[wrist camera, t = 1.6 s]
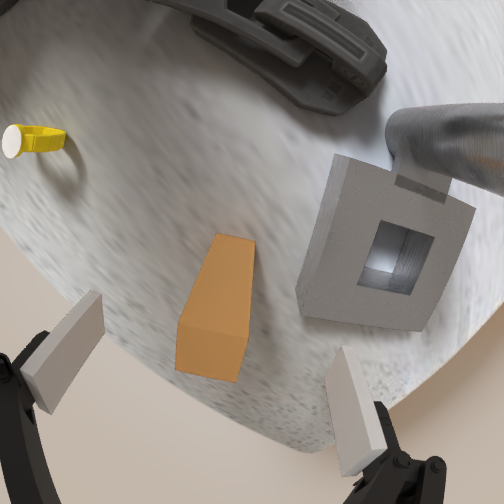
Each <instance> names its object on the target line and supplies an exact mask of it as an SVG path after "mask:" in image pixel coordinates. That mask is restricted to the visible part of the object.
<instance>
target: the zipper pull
mask: <svg viewBox="0 0 504 504" xmlns="http://www.w3.org/2000/svg"><path fill="white" fill-rule="evenodd" d="M147 1H151V2H155V3H158V4H162V5H165V6H169V7H172V8H175V9H178V10H182V11H185V12H188V13H190V14H191V21H190V26H191V27H192V28H193V30H194V31H195V33H196V34H197V35H199V36H200V37H202V38H203V39H205V40H207V41H208V42H210V43H211V44H213V45H215V46H216V47H218V48H219V49H221V50H223V51H224V52H226V53H227V54H229V55H230V56H232V57H233V58H235V59H236V60H238V61H239V62H241V63H242V64H244V65H245V66H246V67H248V68H249V69H251V70H252V71H253V72H255V73H256V74H258V75H259V76H260V77H262V78H263V79H264V80H266V81H267V82H268V83H270V84H271V85H272V86H273V87H275V88H276V89H277V90H278V91H280V92H281V93H282V94H283V95H284V96H286V97H287V98H288V99H289V100H290V101H292V102H293V103H294V104H295V105H296V106H297V107H299V108H302V109H306V110H310V111H314V112H318V113H322V114H326V115H329V116H337V115H341V114H343V113H344V112H346V111H347V110H349V109H350V108H352V107H353V106H355V105H356V104H358V103H360V102H361V101H363V100H364V99H366V98H367V97H369V95H370V94H371V93H372V91H373V90H374V88H375V87H376V86H377V84H378V83H379V81H380V80H381V79H382V77H383V76H384V74H385V73H386V72H387V64H386V63H385V59H386V54H387V50H386V48H385V47H384V45H383V44H382V42H381V41H380V39H379V38H378V37H377V35H376V34H375V32H374V31H373V30H372V28H371V27H370V26H369V24H368V23H367V22H366V21H364V20H362V19H361V18H359V17H357V16H355V15H354V14H352V13H350V12H348V11H346V10H345V9H343V8H341V7H339V6H337V5H335V4H333V3H331V2H329V1H327V0H147Z"/></svg>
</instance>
